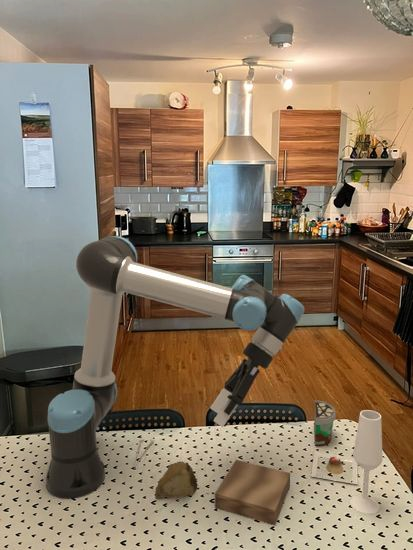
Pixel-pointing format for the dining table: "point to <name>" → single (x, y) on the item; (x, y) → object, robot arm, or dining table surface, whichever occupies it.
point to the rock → (177, 481)
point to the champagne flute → (367, 456)
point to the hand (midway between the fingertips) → (215, 417)
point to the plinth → (253, 491)
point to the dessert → (335, 466)
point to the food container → (323, 423)
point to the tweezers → (144, 451)
